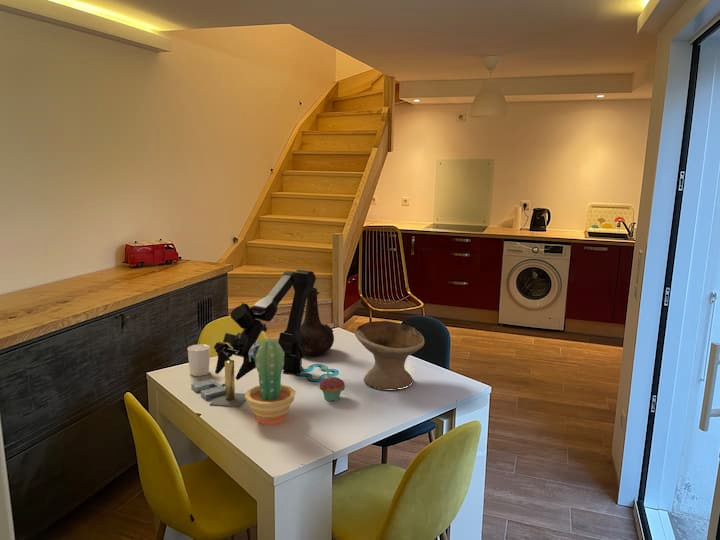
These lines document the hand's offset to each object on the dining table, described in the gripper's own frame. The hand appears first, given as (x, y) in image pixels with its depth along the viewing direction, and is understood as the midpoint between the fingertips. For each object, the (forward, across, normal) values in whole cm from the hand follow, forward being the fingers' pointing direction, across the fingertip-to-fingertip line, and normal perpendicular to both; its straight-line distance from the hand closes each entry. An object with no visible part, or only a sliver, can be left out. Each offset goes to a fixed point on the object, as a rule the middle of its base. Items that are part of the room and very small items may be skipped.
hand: (226, 376), depth 171 cm
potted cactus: (+7, +20, +5) cm, 22 cm away
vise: (+4, -11, +9) cm, 14 cm away
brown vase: (-34, -7, +46) cm, 58 cm away
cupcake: (-9, +27, +22) cm, 36 cm away
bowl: (-26, +36, +39) cm, 59 cm away
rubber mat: (+5, 0, +7) cm, 9 cm away
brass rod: (+5, 0, +7) cm, 8 cm away
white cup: (-3, -27, +15) cm, 32 cm away
